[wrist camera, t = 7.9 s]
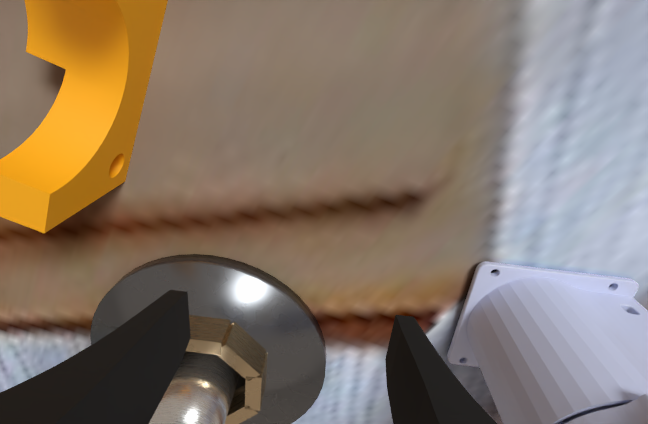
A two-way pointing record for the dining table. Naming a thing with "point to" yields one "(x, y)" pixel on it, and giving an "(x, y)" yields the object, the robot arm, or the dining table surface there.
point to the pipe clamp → (82, 106)
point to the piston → (198, 392)
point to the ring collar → (234, 330)
